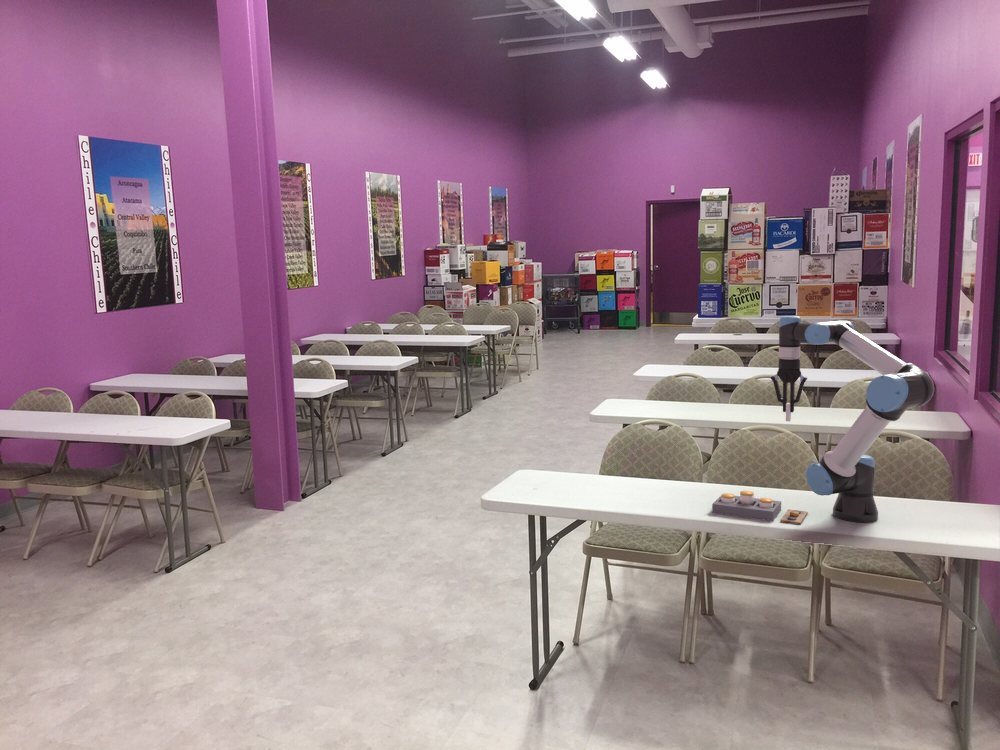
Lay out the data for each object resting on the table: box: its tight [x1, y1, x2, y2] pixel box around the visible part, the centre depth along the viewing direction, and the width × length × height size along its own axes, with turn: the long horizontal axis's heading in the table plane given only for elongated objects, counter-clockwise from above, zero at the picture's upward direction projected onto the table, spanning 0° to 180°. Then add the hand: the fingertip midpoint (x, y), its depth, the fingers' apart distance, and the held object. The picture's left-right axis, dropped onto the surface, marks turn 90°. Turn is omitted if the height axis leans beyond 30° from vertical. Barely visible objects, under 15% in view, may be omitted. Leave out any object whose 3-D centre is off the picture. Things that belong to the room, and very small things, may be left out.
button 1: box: [720, 492, 736, 503], centre depth 307 cm, size 5×5×4 cm
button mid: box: [739, 490, 755, 506], centre depth 304 cm, size 5×5×4 cm
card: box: [779, 508, 809, 525], centre depth 296 cm, size 7×14×2 cm, turn 150°
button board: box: [711, 495, 782, 522], centre depth 304 cm, size 22×14×4 cm, turn 60°
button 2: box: [758, 497, 774, 508], centre depth 300 cm, size 5×5×4 cm
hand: (788, 420), depth 304 cm, fingers closed
